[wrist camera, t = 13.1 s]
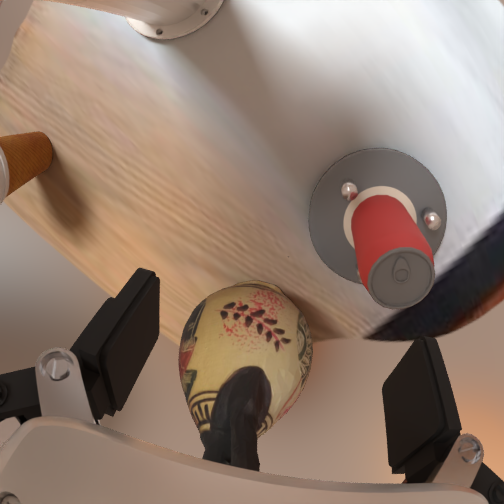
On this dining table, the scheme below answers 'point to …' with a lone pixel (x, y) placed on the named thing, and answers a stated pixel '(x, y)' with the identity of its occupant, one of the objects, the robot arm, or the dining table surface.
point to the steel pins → (427, 213)
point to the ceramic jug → (243, 367)
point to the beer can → (391, 253)
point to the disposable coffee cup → (22, 160)
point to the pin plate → (368, 184)
